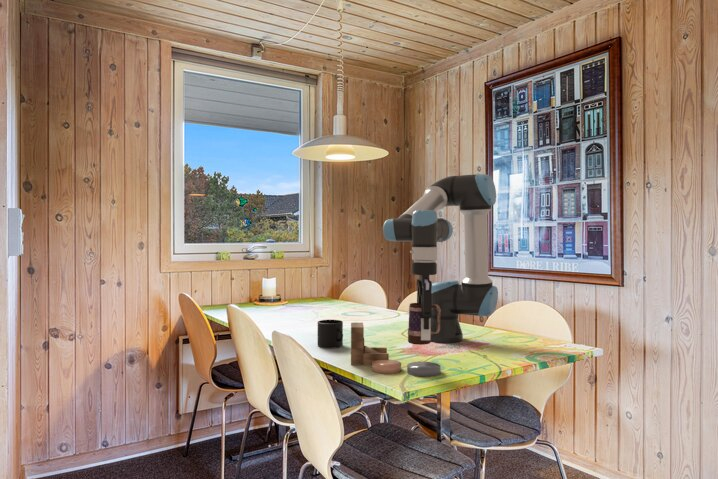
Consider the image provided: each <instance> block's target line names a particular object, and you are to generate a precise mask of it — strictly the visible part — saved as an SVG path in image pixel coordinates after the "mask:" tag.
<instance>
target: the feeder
mask: <svg viewBox="0 0 718 479" xmlns="http://www.w3.org/2000/svg"><path fill="white" fill-rule="evenodd" d="M364 327H365V326H364V322H350V366H372V362H373V361H376V360H390V356H389V354H390V353H388V352H387V351H388V348H387V347H369V346H367V345H365V337H364V331H365V330H364V329H365V328H364Z"/></svg>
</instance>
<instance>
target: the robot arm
mask: <svg viewBox="0 0 718 479" xmlns="http://www.w3.org/2000/svg"><path fill="white" fill-rule="evenodd" d="M424 190H425V191H424V192H423V195H422V196H421V197H419V199H418V200H416V201H415V203H413V204H412V205H411V206H410V207H409V208H408V209H406V211H404V212H403V213H402V214H400V216H398V218H395V217H394V218H389V219H386V220H385V221H384V223H383V226H382V233H383V237H384V239H385V240H386V241H389V242H395V243H397V242H411V250H410V251H409V253H410V254H411V259H412V261H413V262H411V274H412V275H415V276H418V279H416V288H417V289H416V303H421V307H422V316H419V318H421V340H430V331H431V332H436V330H437V313H438V312H437V309H436V308H435V307H433V309H432V305H433V304H438V305H439V306H440V309H441V315H440V331H439V333H437V334H431V342H433V343H444V344H445V343H447V344H449V343H451V344H452V343H459V342H462V341H463V339H464V334H463V330H462V327H461V324H460V321H459V315H466V316H476V317H480V318H481V317H490V316H492V315H493V314H494V313H495V311H496V307H497V304H498V299H499V291H498V287H497V286H495V285H493V280H492V278H490V276H489V254H488V253H489V249H488V248H489V247H488V241H489V240H488V239H489V238H488V214H489V212H491V211H492V206H493V205H495V204H496V203H497V190H496V185H495V182H494V180H493V178H492V177H491V175H489V174H484V173H483V174H481V173H476V174H475V173H474V174H464V175H450V176H446V177H444V178H442V179H439V180H437V181H435V182H434V183H432V184H431V185H430V186H428V187H427V188H426V189H424ZM445 207H459V211H460V212H461V213H462V214H463V222H464V223H463V227H464V265H465V266H464V269H465V270H464V272H465V275H464V276H465V277H464V278H463V279H462V280H461V284H460V282H459V281H458V280H446V281H437V282H433V283H432V281H431V280H430V276H436V275H437V273H438V263H437V262H436V261H437V260H438V243H443V242H446V241H449V240H450V238H451V237H452V236H453V232H454V231H453V230H454V228H453V225H452V223H451V222H450V221H449V220H448V219H445V218H442V217H439V218H438V213H437V211H439V210H440V211H441V210H442V209H444V208H445Z"/></svg>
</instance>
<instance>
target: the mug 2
mask: <svg viewBox="0 0 718 479" xmlns="http://www.w3.org/2000/svg"><path fill="white" fill-rule="evenodd" d="M408 306H409V307H408V311H409V312H408V328H407V343H409V344H410V345H417V346H418V345H422V346H423V345H429V344H430V343H432V341H431V334H437V333H439V331H440V315H441V309H440V306H439V305H438V304H433V305H432V309H433V307H435V308H436V309H437V312H438V313H437V330H436V332H431V331H430V340H421V318H419V316H422V307H421V303H417V302H411V303H409V305H408Z"/></svg>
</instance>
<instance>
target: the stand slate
mask: <svg viewBox="0 0 718 479" xmlns="http://www.w3.org/2000/svg"><path fill="white" fill-rule="evenodd" d="M406 370H407V371H406V373H407V374H409V375H411V376H414V377H422V378H429V377H430V378H432V377H431V376H433V377H437V376H439V374H440V375H441V365H440V364H438V363H436V362H434V361H433V362H431V361H412V362H409V363H407V365H406Z"/></svg>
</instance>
